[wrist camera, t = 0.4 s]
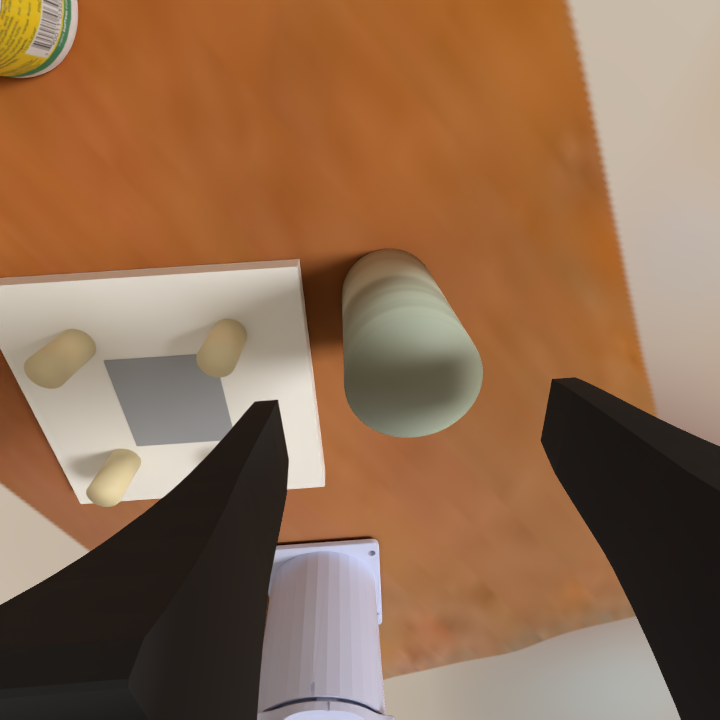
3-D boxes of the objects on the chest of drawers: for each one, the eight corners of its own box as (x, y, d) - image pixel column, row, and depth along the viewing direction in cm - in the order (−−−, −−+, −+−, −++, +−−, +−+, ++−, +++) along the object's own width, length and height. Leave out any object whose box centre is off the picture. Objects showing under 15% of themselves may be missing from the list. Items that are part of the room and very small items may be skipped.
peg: (431, 332, 22) (476, 432, 15) (345, 338, 22) (348, 441, 15) (434, 245, 20) (489, 313, 13) (338, 251, 19) (339, 323, 12)
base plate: (325, 471, 26) (323, 521, 23) (91, 488, 26) (55, 541, 22) (299, 258, 20) (291, 286, 16) (-12, 278, 19) (-82, 309, 16)
